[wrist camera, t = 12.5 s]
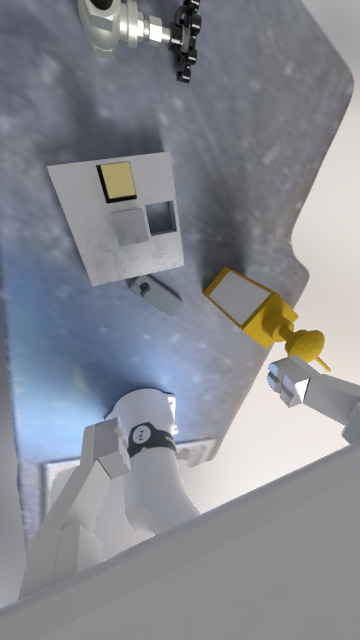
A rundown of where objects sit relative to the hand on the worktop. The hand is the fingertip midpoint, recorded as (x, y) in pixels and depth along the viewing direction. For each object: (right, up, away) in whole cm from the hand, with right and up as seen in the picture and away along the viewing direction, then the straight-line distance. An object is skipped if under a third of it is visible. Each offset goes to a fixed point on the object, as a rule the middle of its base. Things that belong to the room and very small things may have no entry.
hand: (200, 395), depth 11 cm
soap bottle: (+11, +10, +36) cm, 39 cm away
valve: (-7, +37, +15) cm, 40 cm away
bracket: (-6, +9, +31) cm, 33 cm away
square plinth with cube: (-10, +20, +23) cm, 32 cm away
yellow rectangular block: (-11, +24, +20) cm, 33 cm away
